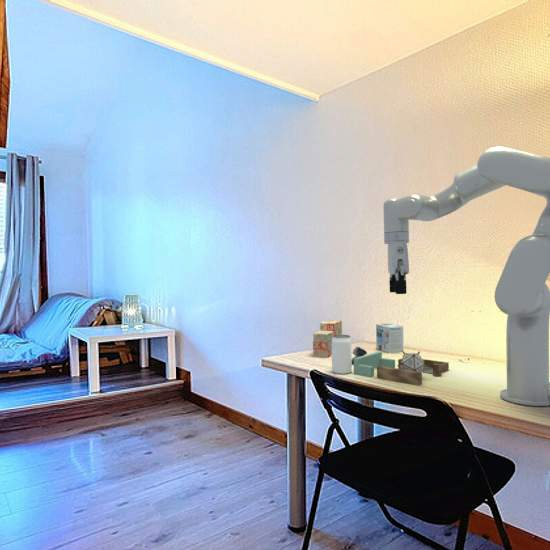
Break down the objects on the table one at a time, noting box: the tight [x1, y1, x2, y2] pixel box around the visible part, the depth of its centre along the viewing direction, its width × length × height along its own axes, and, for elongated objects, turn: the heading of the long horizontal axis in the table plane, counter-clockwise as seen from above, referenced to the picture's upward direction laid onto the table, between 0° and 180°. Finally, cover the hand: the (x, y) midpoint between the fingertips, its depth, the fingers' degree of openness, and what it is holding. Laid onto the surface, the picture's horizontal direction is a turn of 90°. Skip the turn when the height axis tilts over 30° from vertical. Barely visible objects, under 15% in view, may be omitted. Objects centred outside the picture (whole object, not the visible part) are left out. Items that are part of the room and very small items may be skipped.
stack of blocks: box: [312, 319, 343, 358], centre depth 182 cm, size 21×6×12 cm, turn 157°
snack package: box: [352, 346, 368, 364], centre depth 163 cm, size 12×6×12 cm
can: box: [331, 334, 353, 375], centre depth 148 cm, size 6×6×12 cm
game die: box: [396, 350, 428, 372], centre depth 139 cm, size 9×8×10 cm
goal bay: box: [353, 351, 396, 378], centre depth 148 cm, size 6×15×5 cm, turn 137°
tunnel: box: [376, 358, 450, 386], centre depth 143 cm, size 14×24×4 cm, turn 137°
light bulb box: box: [375, 322, 404, 354], centre depth 183 cm, size 11×7×11 cm, turn 17°
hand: (397, 293), depth 140 cm, fingers open, 9 cm apart
